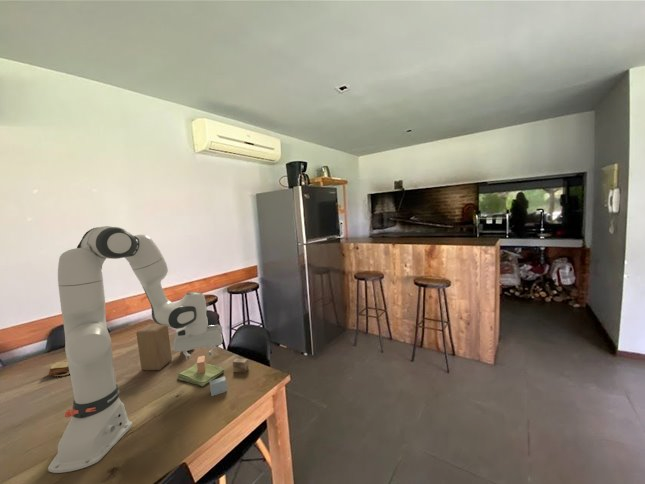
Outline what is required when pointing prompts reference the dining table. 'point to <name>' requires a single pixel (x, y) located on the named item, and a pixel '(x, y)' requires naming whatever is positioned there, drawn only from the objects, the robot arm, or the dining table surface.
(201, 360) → the brick terracotta
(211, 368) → the washcloth
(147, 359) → the block
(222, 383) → the brick slate
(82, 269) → the robot arm
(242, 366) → the brick walnut
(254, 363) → the dining table surface
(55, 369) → the toy sandwich meal
